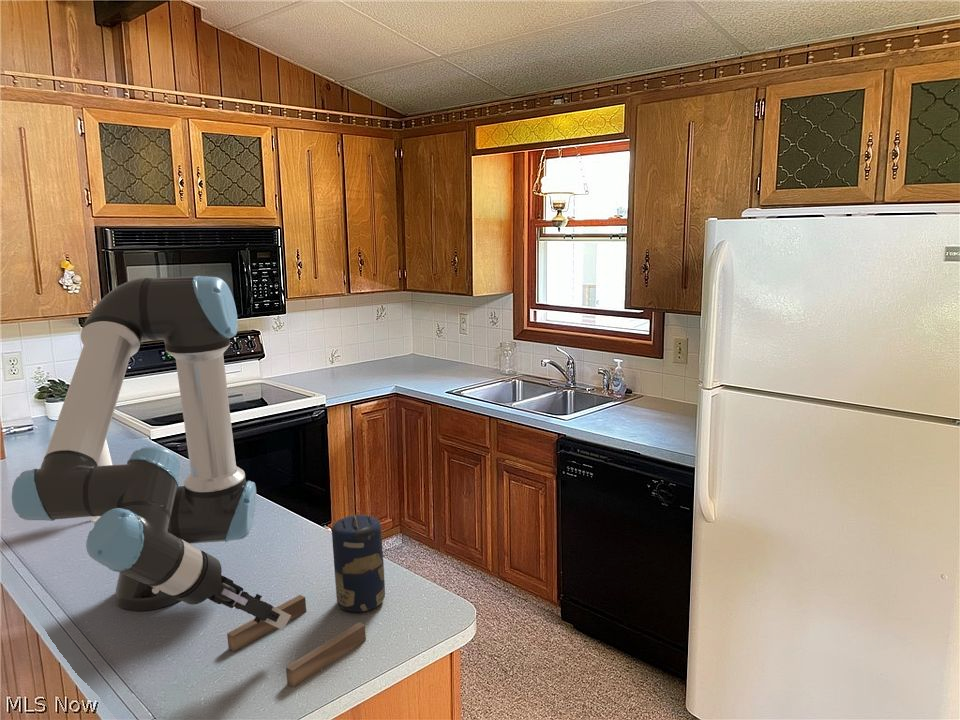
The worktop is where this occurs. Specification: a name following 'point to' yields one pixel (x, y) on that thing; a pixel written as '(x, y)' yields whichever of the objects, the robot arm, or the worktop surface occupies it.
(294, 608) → the walnut chute
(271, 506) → the worktop surface
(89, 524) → the worktop surface
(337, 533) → the canister
